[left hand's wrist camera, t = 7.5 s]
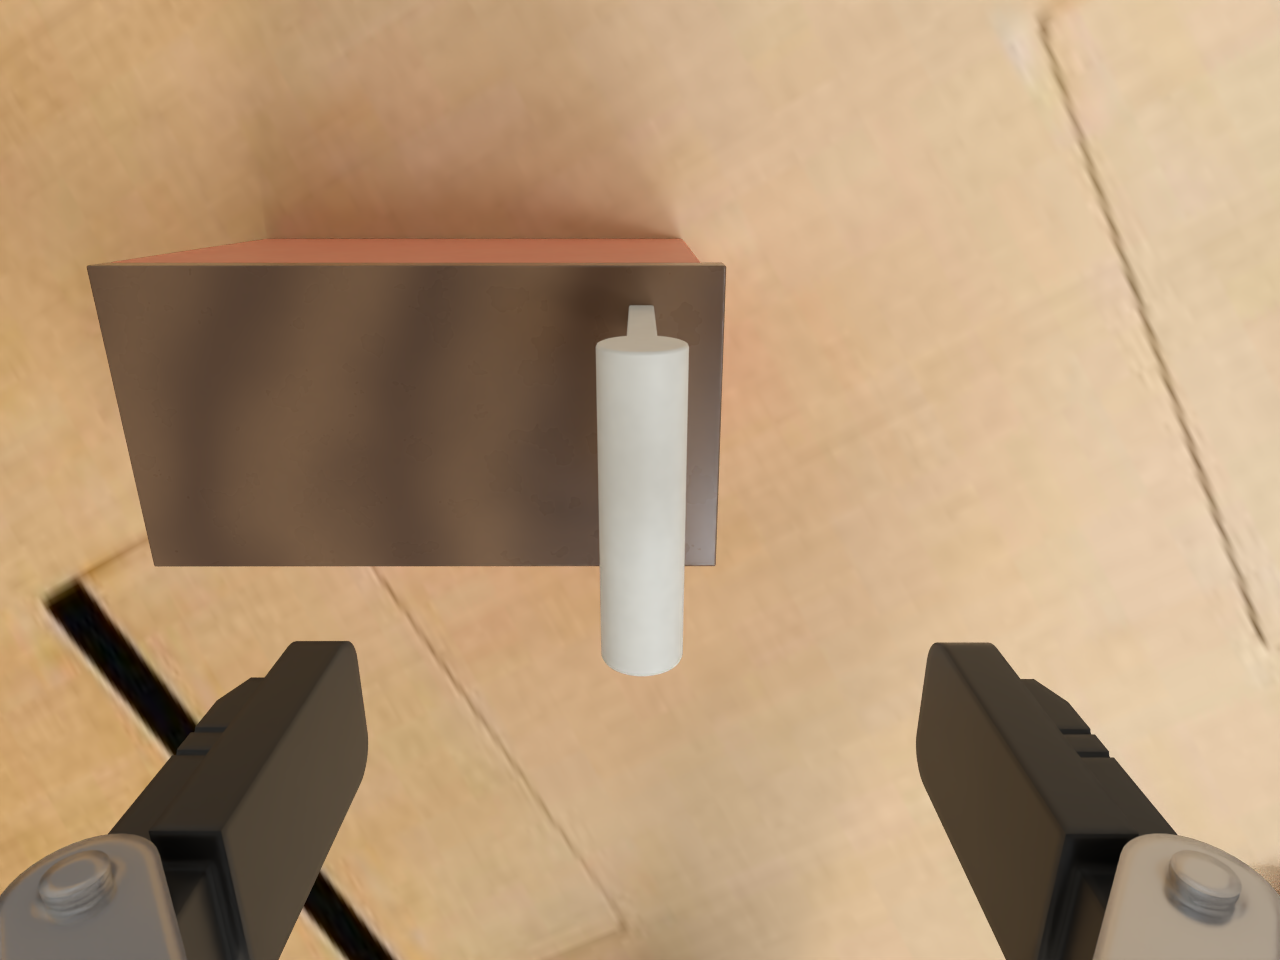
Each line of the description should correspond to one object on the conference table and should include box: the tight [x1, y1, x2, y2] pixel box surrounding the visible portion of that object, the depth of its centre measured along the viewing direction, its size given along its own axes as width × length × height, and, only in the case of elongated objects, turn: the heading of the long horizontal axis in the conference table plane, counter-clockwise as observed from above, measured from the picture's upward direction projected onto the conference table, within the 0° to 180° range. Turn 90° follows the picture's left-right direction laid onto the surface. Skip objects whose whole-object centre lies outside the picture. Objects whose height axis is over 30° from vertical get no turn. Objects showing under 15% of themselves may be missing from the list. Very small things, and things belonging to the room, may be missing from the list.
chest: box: [111, 239, 700, 263], centre depth 30 cm, size 17×9×11 cm, turn 90°
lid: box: [87, 263, 726, 676], centre depth 21 cm, size 18×9×8 cm, turn 90°
